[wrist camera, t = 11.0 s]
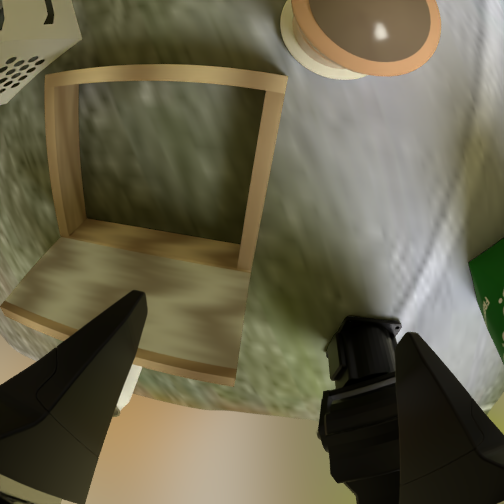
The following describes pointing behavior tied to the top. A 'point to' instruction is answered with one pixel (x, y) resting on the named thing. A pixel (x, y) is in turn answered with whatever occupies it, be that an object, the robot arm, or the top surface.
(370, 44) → the pot
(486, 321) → the milk carton
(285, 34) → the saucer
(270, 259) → the top surface
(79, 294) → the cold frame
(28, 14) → the grater
